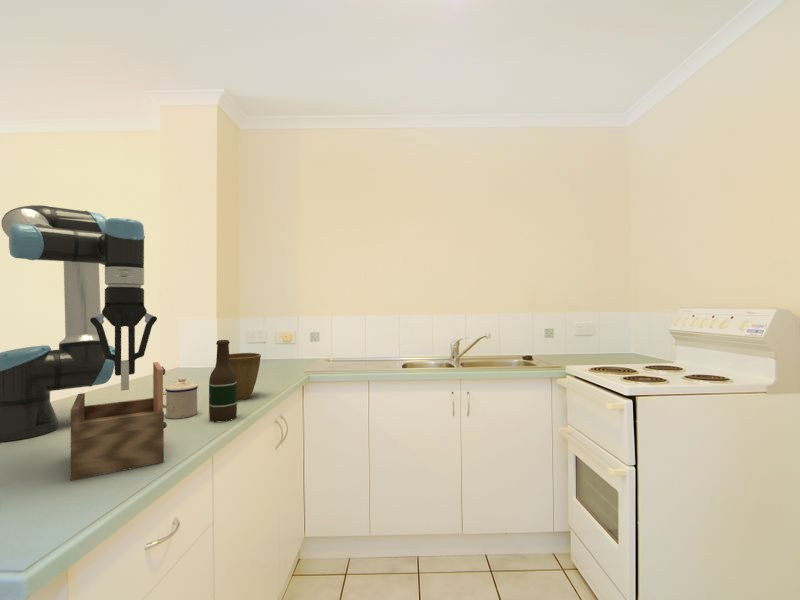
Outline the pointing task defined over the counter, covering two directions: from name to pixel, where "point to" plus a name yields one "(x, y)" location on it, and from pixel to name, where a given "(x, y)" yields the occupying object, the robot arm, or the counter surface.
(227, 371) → the beer bottle
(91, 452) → the tray
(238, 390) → the plant pot
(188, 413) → the teacup with lid
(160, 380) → the orange rectangular slab
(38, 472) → the counter surface
